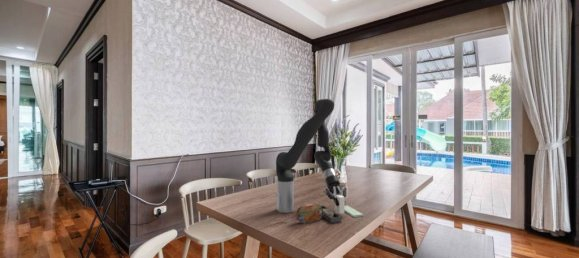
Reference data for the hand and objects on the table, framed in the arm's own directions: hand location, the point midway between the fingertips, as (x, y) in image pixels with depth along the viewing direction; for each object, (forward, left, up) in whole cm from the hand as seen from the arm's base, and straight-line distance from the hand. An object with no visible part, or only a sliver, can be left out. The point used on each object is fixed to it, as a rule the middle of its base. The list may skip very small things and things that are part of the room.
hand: (341, 205), depth 132 cm
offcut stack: (-7, +2, -6) cm, 10 cm away
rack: (-7, +2, -6) cm, 9 cm away
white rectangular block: (0, +2, -4) cm, 4 cm away
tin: (-19, -2, -6) cm, 20 cm away
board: (+8, +4, -6) cm, 11 cm away
